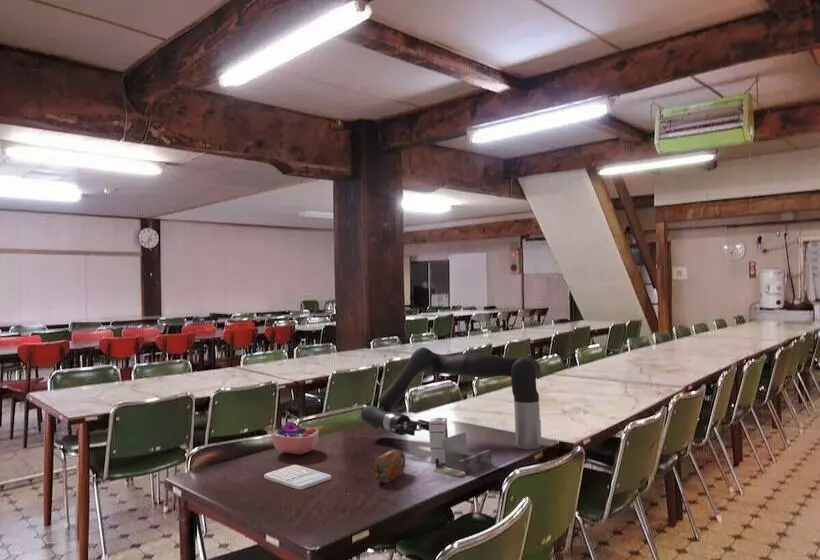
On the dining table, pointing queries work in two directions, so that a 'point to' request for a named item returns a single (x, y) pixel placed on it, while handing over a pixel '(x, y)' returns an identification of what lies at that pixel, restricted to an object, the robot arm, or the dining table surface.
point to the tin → (389, 466)
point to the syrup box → (437, 438)
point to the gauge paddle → (453, 449)
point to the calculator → (297, 477)
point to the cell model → (295, 438)
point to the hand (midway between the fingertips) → (423, 430)
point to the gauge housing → (469, 464)
